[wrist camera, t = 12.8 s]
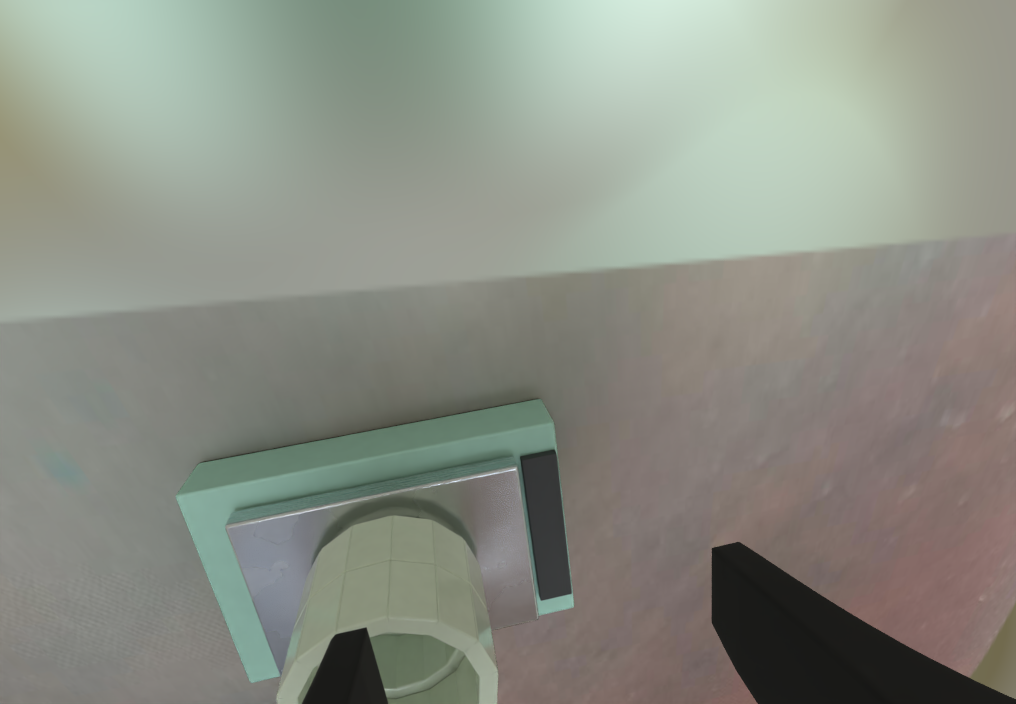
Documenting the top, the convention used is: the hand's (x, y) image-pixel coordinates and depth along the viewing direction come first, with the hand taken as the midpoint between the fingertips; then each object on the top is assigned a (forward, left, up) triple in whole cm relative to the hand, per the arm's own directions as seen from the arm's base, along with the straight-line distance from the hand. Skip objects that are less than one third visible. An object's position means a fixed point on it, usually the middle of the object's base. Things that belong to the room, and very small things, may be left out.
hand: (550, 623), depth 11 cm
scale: (-4, -4, -9) cm, 11 cm away
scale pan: (-4, -3, -7) cm, 9 cm away
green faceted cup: (-4, -4, -6) cm, 8 cm away
